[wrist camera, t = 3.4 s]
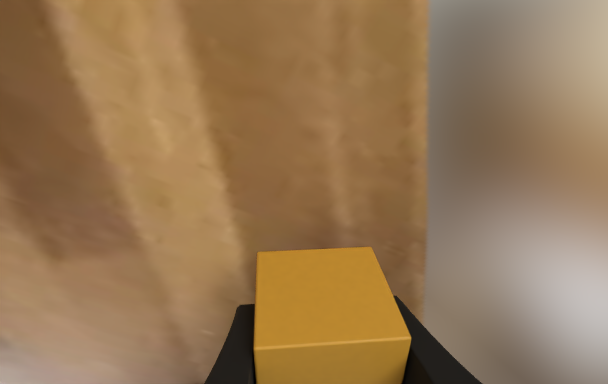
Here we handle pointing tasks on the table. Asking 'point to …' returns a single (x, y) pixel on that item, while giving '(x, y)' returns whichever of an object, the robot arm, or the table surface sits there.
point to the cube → (326, 319)
